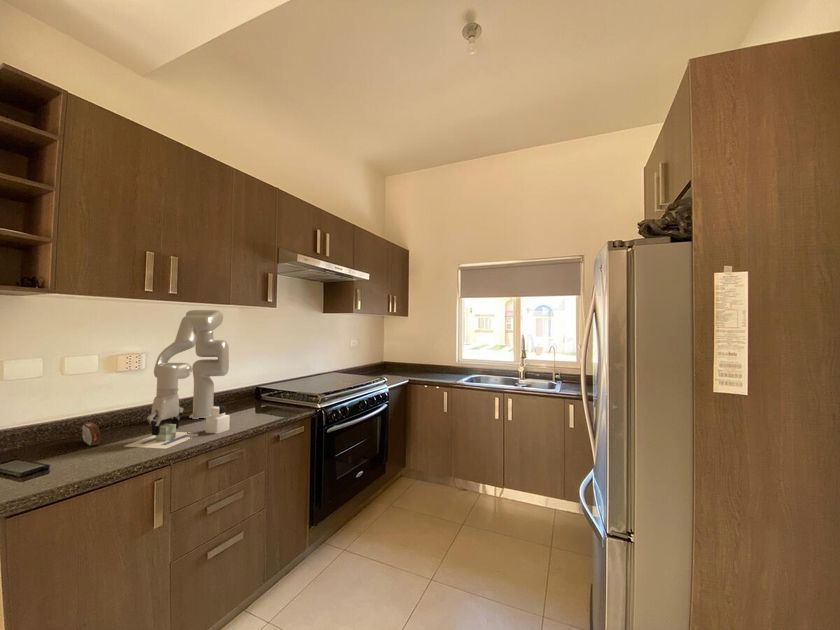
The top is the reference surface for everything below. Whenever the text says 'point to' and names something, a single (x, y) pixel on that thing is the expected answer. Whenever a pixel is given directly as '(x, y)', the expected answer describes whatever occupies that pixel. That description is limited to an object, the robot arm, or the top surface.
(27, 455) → the top surface
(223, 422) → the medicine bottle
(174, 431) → the cover block
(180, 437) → the letter sheet
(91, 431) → the tin
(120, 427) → the top surface
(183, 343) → the robot arm
